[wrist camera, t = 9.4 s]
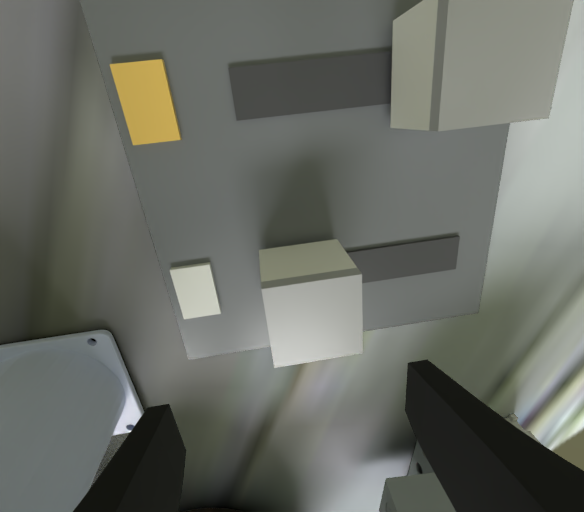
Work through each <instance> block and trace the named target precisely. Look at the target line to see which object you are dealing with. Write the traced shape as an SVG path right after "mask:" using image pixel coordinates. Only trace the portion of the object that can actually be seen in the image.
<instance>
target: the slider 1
mask: <svg viewBox="0 0 584 512" xmlns="http://www.w3.org/2000/svg"><path fill="white" fill-rule="evenodd" d="M259 260H260V275H261V290H262V296H263V302H264V308H265V314H266V320H267V326H268V332H269V339H270V345H271V351H272V357H273V363H274V368H278V367H284V366H290V365H296V364H302V363H307V362H313V361H319V360H325V359H331V358H337V357H343V356H349V355H355V354H361V353H363V315H362V274H361V272H360V271H359V269H358V268H357V267H356V265H355V264H354V262H353V261H352V260H351V258H350V257H349V255H348V254H347V253H346V251H345V250H344V248H343V247H342V246H341V244H340V243H339V241H338V240H337V239H333V240H326V241H319V242H312V243H305V244H298V245H291V246H284V247H276V248H269V249H262V250H259Z"/></svg>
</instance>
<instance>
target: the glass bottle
mask: <svg viewBox="0 0 584 512" xmlns="http://www.w3.org/2000/svg"><path fill="white" fill-rule="evenodd" d="M186 512H242V511H238V510H233V509H227V508H201V509H194V510H190V511H186Z"/></svg>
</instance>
